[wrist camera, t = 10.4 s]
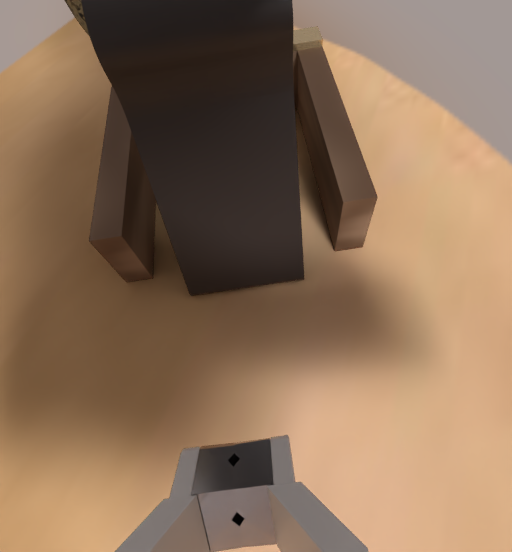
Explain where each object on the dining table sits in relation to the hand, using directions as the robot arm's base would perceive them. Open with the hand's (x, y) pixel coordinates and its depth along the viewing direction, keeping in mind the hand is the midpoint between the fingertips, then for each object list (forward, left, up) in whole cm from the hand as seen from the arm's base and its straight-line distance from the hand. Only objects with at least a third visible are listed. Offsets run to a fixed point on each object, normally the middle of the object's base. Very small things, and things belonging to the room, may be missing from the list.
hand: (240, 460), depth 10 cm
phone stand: (0, +12, -6) cm, 14 cm away
